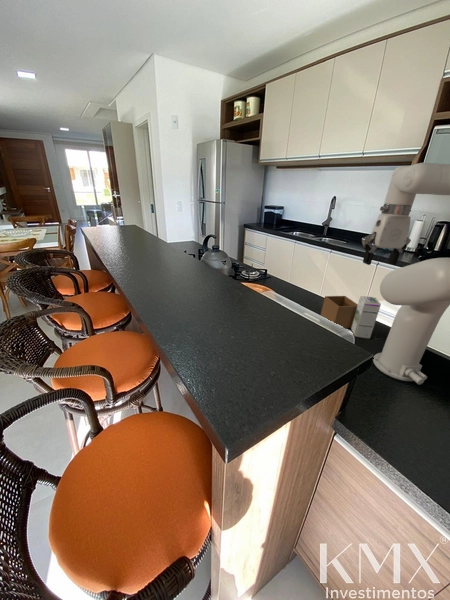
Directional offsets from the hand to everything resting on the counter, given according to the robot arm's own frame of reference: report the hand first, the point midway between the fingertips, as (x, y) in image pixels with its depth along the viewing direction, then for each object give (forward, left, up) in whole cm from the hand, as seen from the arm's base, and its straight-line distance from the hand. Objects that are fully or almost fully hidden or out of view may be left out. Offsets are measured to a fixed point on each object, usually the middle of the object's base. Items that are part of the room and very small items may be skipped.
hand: (379, 263), depth 85 cm
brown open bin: (+8, +4, -28) cm, 29 cm away
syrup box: (-1, 0, -28) cm, 28 cm away
